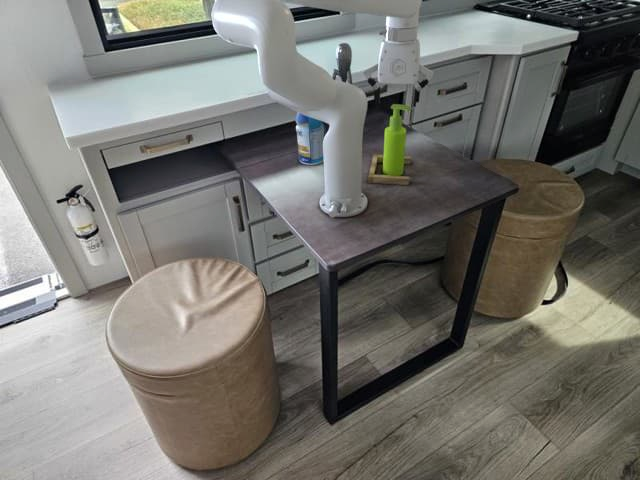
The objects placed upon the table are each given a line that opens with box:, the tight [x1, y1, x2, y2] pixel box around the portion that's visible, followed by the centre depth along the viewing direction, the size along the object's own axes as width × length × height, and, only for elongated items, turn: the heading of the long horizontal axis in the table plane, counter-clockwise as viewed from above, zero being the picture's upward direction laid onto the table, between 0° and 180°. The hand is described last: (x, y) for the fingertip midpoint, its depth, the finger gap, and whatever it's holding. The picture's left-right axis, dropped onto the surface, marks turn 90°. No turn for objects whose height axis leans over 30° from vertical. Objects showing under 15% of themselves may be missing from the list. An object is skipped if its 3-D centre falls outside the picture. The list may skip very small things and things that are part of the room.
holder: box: [367, 153, 412, 186], centre depth 126 cm, size 14×11×2 cm
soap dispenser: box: [382, 103, 413, 176], centre depth 120 cm, size 6×7×20 cm
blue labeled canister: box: [295, 112, 325, 166], centre depth 129 cm, size 8×8×20 cm
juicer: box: [325, 42, 354, 135], centre depth 138 cm, size 10×11×30 cm
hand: (396, 104), depth 113 cm, fingers open, 9 cm apart
